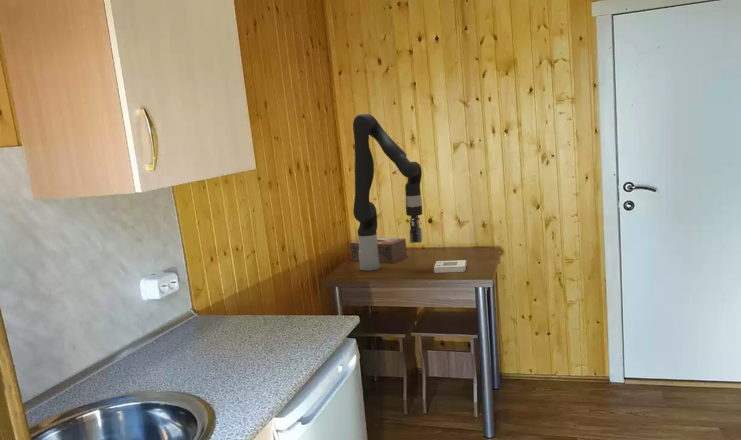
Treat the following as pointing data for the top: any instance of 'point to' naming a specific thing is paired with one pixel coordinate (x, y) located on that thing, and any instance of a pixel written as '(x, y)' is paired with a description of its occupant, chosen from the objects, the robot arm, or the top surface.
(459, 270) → the outlet plate
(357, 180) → the robot arm
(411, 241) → the block
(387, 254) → the tissue box cover
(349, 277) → the top surface
